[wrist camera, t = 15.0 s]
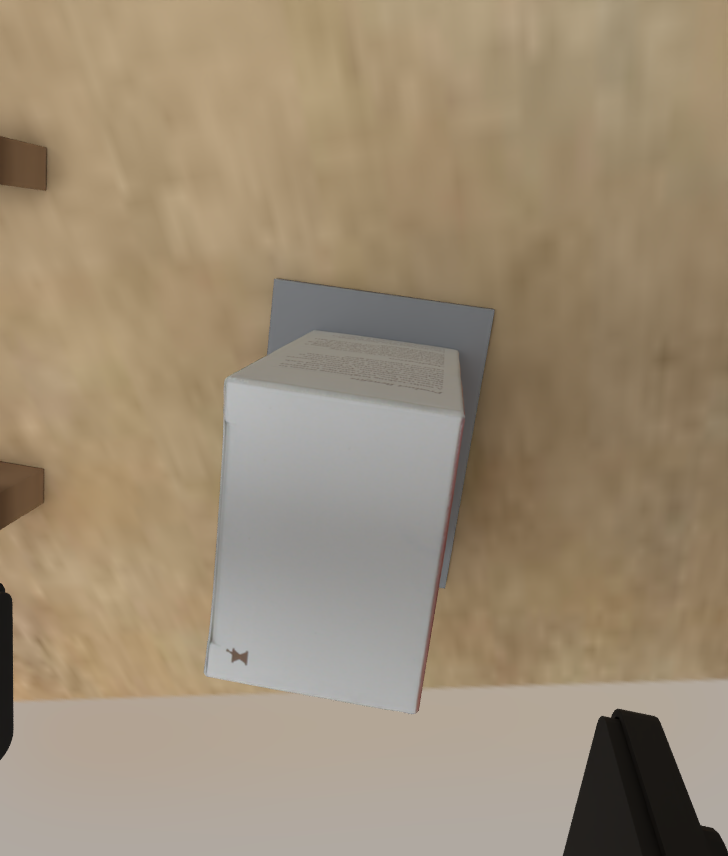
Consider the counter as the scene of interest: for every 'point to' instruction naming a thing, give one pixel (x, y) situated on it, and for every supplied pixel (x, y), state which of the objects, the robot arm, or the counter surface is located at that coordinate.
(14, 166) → the nook
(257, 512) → the small box
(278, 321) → the mat
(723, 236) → the counter surface
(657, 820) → the robot arm
